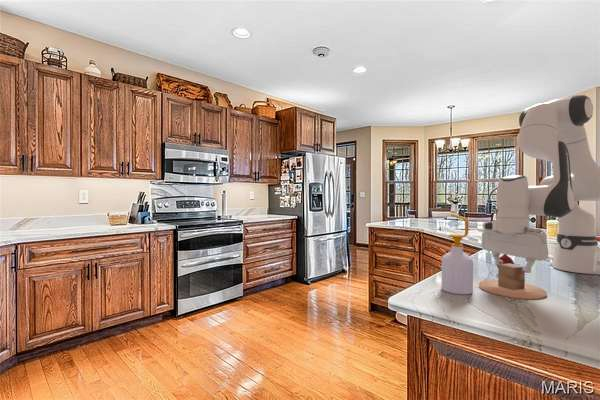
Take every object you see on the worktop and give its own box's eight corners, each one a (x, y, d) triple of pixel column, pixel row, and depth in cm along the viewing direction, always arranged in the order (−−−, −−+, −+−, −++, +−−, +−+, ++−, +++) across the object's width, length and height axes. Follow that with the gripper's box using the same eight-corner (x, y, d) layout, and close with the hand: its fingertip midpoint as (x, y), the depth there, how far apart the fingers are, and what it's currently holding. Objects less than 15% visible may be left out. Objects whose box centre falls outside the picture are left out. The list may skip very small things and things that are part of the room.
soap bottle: (444, 284, 108) (445, 212, 107) (474, 289, 103) (475, 213, 102) (438, 291, 101) (439, 214, 100) (470, 297, 95) (471, 215, 95)
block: (509, 284, 105) (509, 263, 105) (524, 288, 101) (524, 266, 100) (498, 285, 104) (498, 264, 104) (512, 290, 99) (512, 267, 99)
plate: (506, 280, 113) (506, 277, 113) (561, 295, 96) (561, 292, 96) (466, 284, 108) (466, 282, 108) (517, 302, 91) (517, 298, 91)
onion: (517, 275, 120) (518, 254, 119) (502, 275, 120) (502, 254, 120) (507, 272, 125) (508, 251, 125) (493, 272, 126) (493, 251, 125)
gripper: (554, 229, 93) (553, 276, 93) (492, 222, 112) (492, 261, 113) (538, 230, 91) (538, 278, 91) (478, 223, 110) (478, 263, 111)
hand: (512, 268), depth 102 cm, fingers open, 8 cm apart
